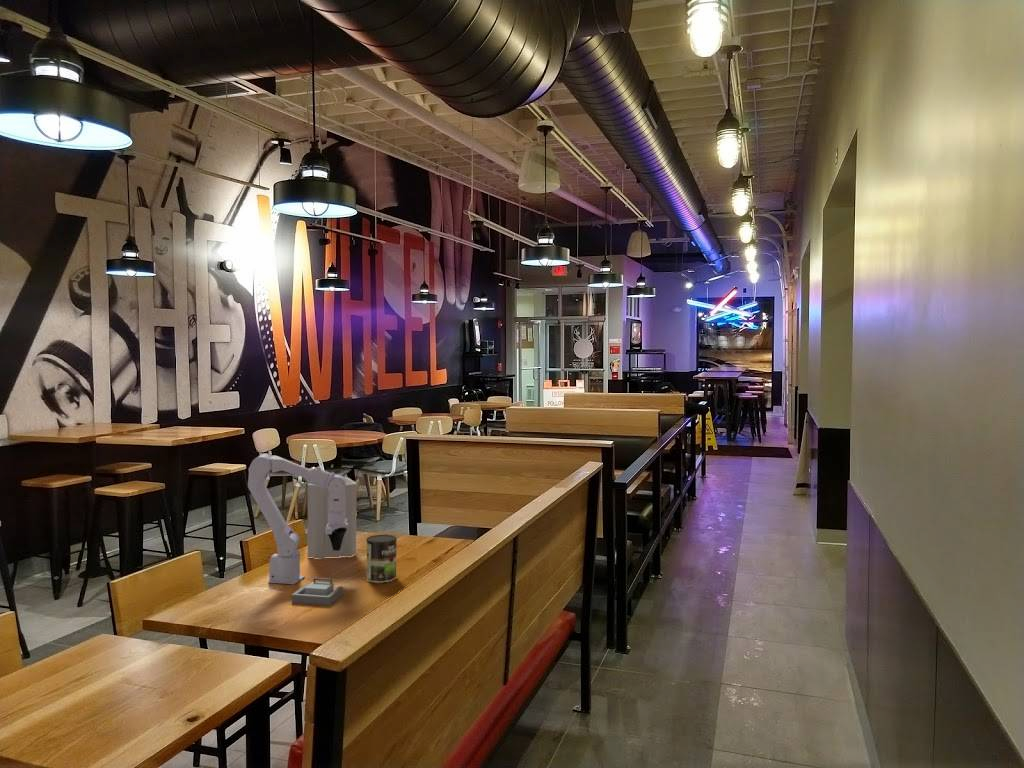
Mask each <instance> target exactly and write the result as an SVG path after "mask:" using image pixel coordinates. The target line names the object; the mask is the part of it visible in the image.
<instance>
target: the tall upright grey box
mask: <svg viewBox="0 0 1024 768" xmlns="http://www.w3.org/2000/svg"><path fill="white" fill-rule="evenodd" d="M343 477H344V478H345V480H346V486H345V519H348V524H349V525H348V526H346V527H342V528H347V531H346V532H345V534H344V537H343V540H342V544H341V549H340V550H339V551H335V550H333V548H332V544H331V540H330V538H329V536H328V534H325V528H327V524H328V498H329V491H328V489H324V488H321V487H318V486H315V485H312V484H310V483H307V558H308V557H313V558H325V557H339V556H352V555H354V554H356V555H357V482H356V481H355V480H352V479H351V478H350V477H345V476H343Z"/></svg>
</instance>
